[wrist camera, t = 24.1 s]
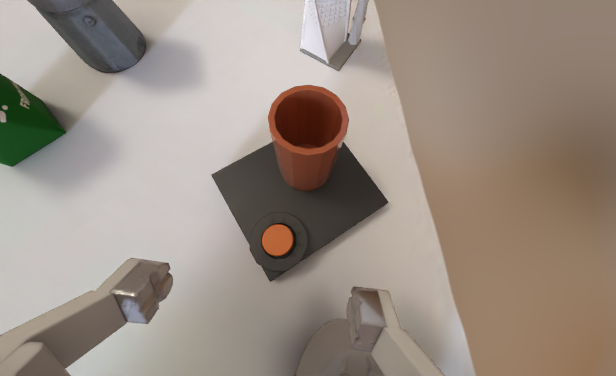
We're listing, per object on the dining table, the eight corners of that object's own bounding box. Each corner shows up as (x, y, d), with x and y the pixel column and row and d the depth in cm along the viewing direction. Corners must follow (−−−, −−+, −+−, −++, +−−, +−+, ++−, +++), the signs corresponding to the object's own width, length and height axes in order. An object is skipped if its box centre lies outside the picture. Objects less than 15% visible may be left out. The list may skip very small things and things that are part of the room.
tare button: (273, 261, 22) (271, 262, 20) (259, 236, 23) (256, 234, 21) (298, 245, 23) (298, 244, 21) (284, 220, 23) (282, 218, 22)
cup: (297, 200, 25) (295, 169, 16) (270, 158, 27) (254, 106, 17) (341, 174, 26) (364, 129, 17) (313, 135, 28) (319, 73, 18)
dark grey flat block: (272, 279, 24) (267, 284, 21) (216, 179, 28) (205, 169, 24) (383, 205, 27) (394, 199, 24) (321, 122, 30) (324, 106, 27)
